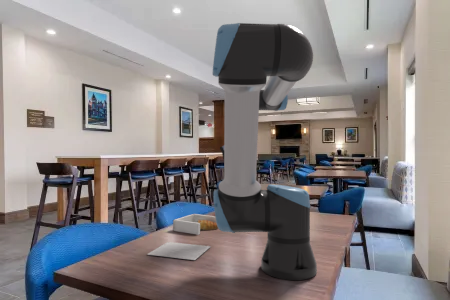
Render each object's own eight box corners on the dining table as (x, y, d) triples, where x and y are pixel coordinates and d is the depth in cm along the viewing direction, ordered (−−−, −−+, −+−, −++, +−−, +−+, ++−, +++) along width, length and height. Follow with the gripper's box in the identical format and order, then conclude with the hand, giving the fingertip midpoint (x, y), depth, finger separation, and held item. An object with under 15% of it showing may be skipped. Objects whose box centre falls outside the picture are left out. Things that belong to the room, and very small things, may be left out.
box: (198, 234, 117) (198, 223, 117) (173, 230, 124) (173, 220, 124) (217, 226, 130) (217, 216, 130) (193, 223, 137) (193, 213, 137)
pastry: (218, 227, 131) (218, 218, 131) (217, 231, 124) (217, 222, 124) (197, 226, 131) (197, 218, 131) (195, 230, 124) (195, 221, 124)
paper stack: (179, 236, 116) (179, 235, 116) (240, 242, 108) (240, 240, 108) (146, 256, 93) (146, 254, 93) (221, 265, 86) (221, 263, 86)
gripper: (253, 129, 117) (253, 188, 117) (225, 130, 124) (225, 186, 123) (245, 127, 111) (246, 189, 110) (216, 129, 117) (216, 188, 116)
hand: (235, 188), depth 116 cm, fingers closed
